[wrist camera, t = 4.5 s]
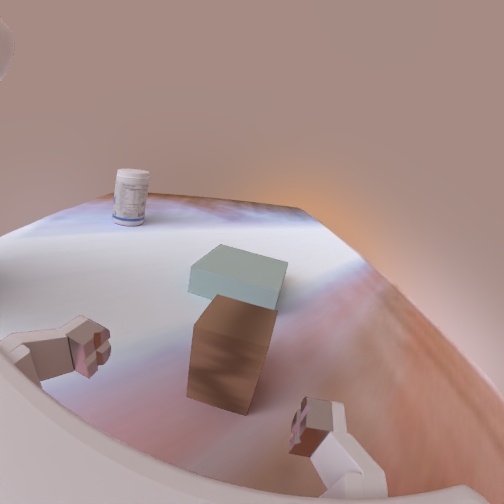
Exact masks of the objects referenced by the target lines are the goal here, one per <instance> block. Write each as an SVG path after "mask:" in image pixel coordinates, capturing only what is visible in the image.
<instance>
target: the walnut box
mask: <svg viewBox="0 0 504 504" xmlns="http://www.w3.org/2000/svg"><path fill="white" fill-rule="evenodd" d="M276 316H277V311H276V310H272V309H268V308H264V307H261V306H257V305H254V304H250V303H246V302H243V301H239V300H236V299H233V298H229V297H226V296H222V295H219V294H217V295H216V296H215V298H214V299H213V300H212V302H211V303H210V304H209V306H208V307H207V308H206V310H205V311H204V312H203V314H202V315H201V316H200V318H199V319H198V320H197V322H196V323H195V325H194V330H193V338H192V347H191V356H190V366H189V376H188V386H187V397H189V398H192V399H194V400H197V401H200V402H203V403H206V404H209V405H212V406H215V407H218V408H221V409H224V410H227V411H231V412H234V413H238V414H241V415H245V416H246V414H247V411H248V408H249V406H250V403H251V400H252V397H253V394H254V391H255V388H256V385H257V382H258V379H259V376H260V373H261V370H262V367H263V364H264V361H265V358H266V355H267V351H268V348H269V344H270V340H271V336H272V332H273V328H274V324H275V320H276Z"/></svg>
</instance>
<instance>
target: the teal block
mask: <svg viewBox="0 0 504 504" xmlns="http://www.w3.org/2000/svg"><path fill="white" fill-rule="evenodd" d="M287 266H288V262H284V261H281V260H277V259H273V258H270V257H266V256H262V255H259V254H255V253H251V252H247V251H244V250H240V249H236V248H233V247H229V246H225V245H222V244H220V245H218V246H217V247H216V248H215V249H213V250H212V251H211V252H209V253H208V254H207V255H205V256H204V257H203V258H201V259H200V260H199V261H197V262H196V263H195V264H193V265H192V266H191V273H190V281H189V289H188V292H190V293H193V294H196V295H199V296H202V297H205V298H208V299H211V300H213V299H214V298H215V296H216V295H217V294H219V295H222V296H226V297H229V298H233V299H236V300H239V301H243V302H246V303H250V304H254V305H257V306H261V307H264V308H268V309H272V310H275V307H276V303H277V300H278V297H279V294H280V290H281V287H282V284H283V280H284V277H285V273H286V269H287Z"/></svg>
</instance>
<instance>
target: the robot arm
mask: <svg viewBox="0 0 504 504" xmlns="http://www.w3.org/2000/svg"><path fill="white" fill-rule="evenodd" d="M14 45H15V42H14V36H13V33H12V31H11V29H10V28H9V27H8V26H7V25H5V24H4V22H3V21H2V19H1V17H0V81H1V80H2V79H3V77H4V76H5V74H6V72H7V71H8V69H9V66H10V64H11V62H12V59H13V54H14V47H15V46H14ZM109 338H110V331H109V330H108V329H107V328H105V327H103V326H101V325H99V324H98V323H96V322H94V321H92V320H90V319H88V318H86V317H85V316H83V315H79V316H77V317H76V318H74V319H73V320H71V321H70V322H68V323H67V324H65V325H64V326H63V327H61V328H60V329H58V330H56V329H48V330H40V331H30V332H20V333H12V334H10V335H9V336H7V337H6V338H4V339H2V340H1V341H0V504H490V502H489V501H488V500H487V499H486V498H484V497H483V496H482V495H480V494H479V493H478V492H477V491H475V490H474V489H472V488H471V487H469V486H467V485H465V484H461V485H456V486H452V487H448V488H444V489H439V490H435V491H429V492H424V493H418V494H411V495H404V496H395V497H388V491H387V484H386V477H385V472H384V471H383V469H382V468H381V467H380V466H379V465H378V464H377V463H376V462H375V461H374V460H373V458H372V457H371V456H370V455H369V454H368V453H367V452H366V451H365V450H364V448H363V447H362V446H361V445H360V444H359V443H358V442H357V440H356V439H355V438H354V437H353V436H352V435H351V434H347V426H346V417H345V409H344V404H343V403H341V402H334V401H327V400H321V399H316V398H310V397H305V398H304V399H303V401H302V403H301V409H299V410H297V412H296V414H295V416H294V419H293V422H292V427H291V433H292V434H293V436H292V438H291V440H290V445H289V454H295V455H300V456H306V457H310V460H311V462H312V463H313V465H314V467H315V469H316V471H317V472H318V474H319V476H320V478H321V479H322V481H323V483H324V485H325V486H326V488H327V491H326V492H324V493H323V494H322V495H321V496H319V497H318V498H315V497H304V496H294V495H287V494H280V493H273V492H267V491H262V490H257V489H252V488H247V487H243V486H239V485H235V484H231V483H227V482H223V481H219V480H216V479H213V478H209V477H206V476H203V475H200V474H197V473H194V472H191V471H188V470H185V469H183V468H180V467H177V466H175V465H172V464H170V463H167V462H165V461H162V460H160V459H157V458H155V457H153V456H151V455H148V454H146V453H144V452H142V451H140V450H138V449H136V448H134V447H132V446H130V445H128V444H126V443H124V442H122V441H120V440H118V439H116V438H114V437H113V436H111V435H109V434H107V433H106V432H104V431H102V430H100V429H99V428H97V427H95V426H94V425H92V424H91V423H89V422H87V421H86V420H84V419H83V418H81V417H80V416H78V415H77V414H75V413H74V412H72V411H71V410H69V409H68V408H66V407H65V406H64V405H62V404H61V403H59V402H58V401H57V400H55V399H54V398H53V397H51V396H50V395H49V394H48V393H46V392H45V391H44V390H43V389H42V386H41V383H40V381H43V380H46V379H50V378H53V377H56V376H59V375H63V374H66V373H69V372H72V371H74V370H75V371H77V372H78V373H80V374H82V375H83V376H85V377H87V378H90V377H91V376H92V375H93V374H94V373H95V372H96V371H97V370H98V366H99V365H104V364H105V363H106V361H107V360H108V358H109V356H110V353H111V345H110V343H109V342H108V339H109Z"/></svg>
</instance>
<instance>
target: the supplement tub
mask: <svg viewBox="0 0 504 504" xmlns="http://www.w3.org/2000/svg"><path fill="white" fill-rule="evenodd" d="M149 176H150V172H148V171H143V170H137V169H118V172H117V178H116V185H115V194H114V204H113V216H112V219H113V221H114V222H115V223H116V224H119V225H123V226H137V225H141V224H142V223H143V222H144V217H145V208H146V200H147V193H148V186H149V178H150V177H149Z"/></svg>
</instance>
